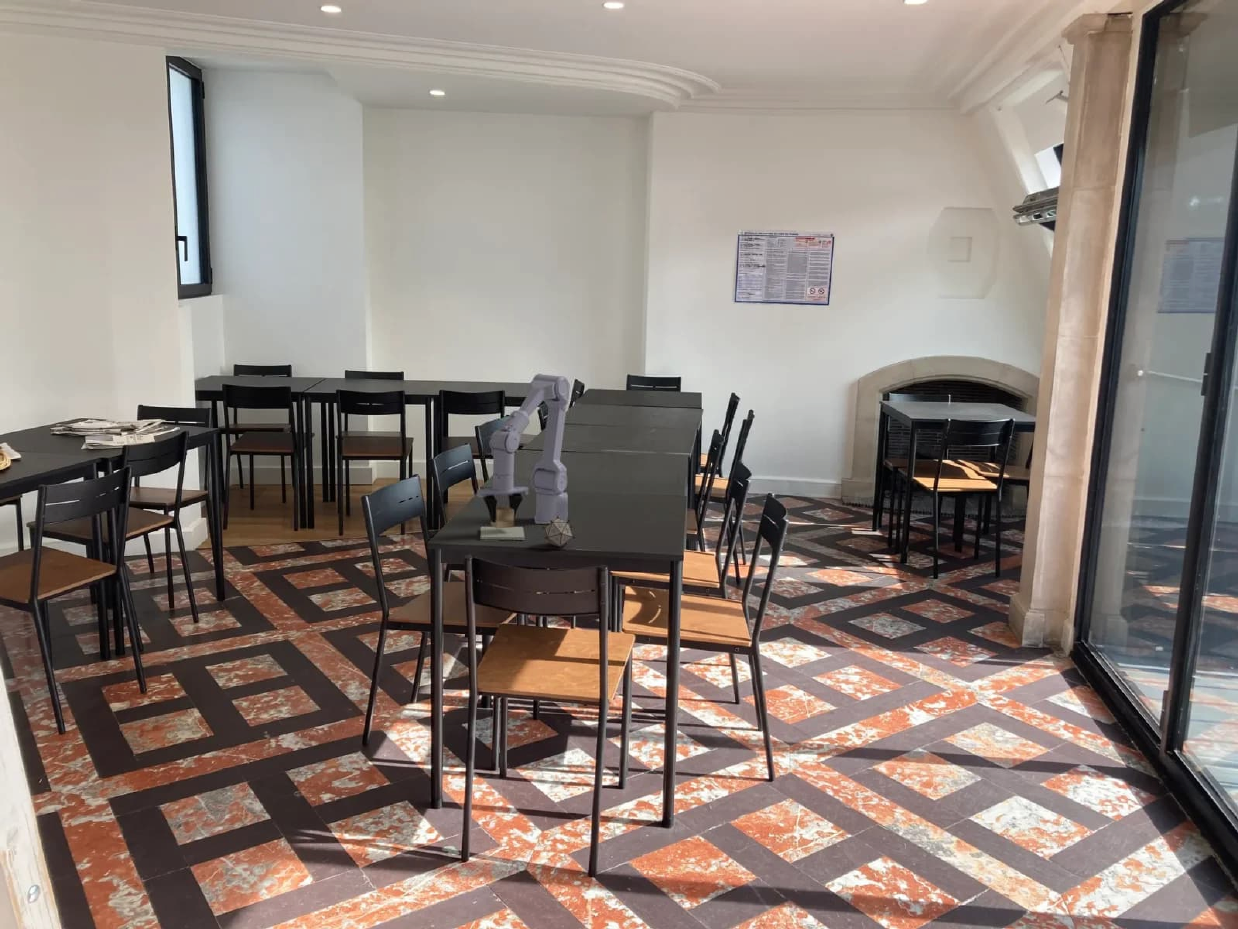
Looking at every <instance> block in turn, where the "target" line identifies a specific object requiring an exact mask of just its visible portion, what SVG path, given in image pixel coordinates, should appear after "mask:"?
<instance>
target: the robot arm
mask: <svg viewBox="0 0 1238 929" xmlns="http://www.w3.org/2000/svg"><path fill="white" fill-rule="evenodd" d="M529 386H530V387H529V388H530V389H529V392H528V394H527V395H526V397H525V399H524V401H523V402H522V404H521V406H520V407H519V409H518V410H513V411H512V412H511V413H510V415H509V416H508V418H507V419H506V420H505V422H504V423H503V424H502V426H501V427H500V428H499V429H497V430H495V431H494V432H493V433H492V434H491V435H490V438H489V440H488V444H489V445H488V446H489V448H490V449H491V450H490V451H491V456H492V457H493V461H492V465H493V466H492V468H493V469H492V487H489V488H483V489H477V490H476V491H477V492H476V494H477V495H476V497H477V498H479V499H482V498H483V500H484V503H485V505H486V507H487V509H488V514H489V518H490V522H491V521H492V522H495V521H496V507H497V504H498V500H497V499H496V497H503V496H505V497H506V496H507V497H508V504H509V507H510V508H512V509H513V510H514V520H515V518H516V515H517V511H518V509H519V506H520V505H521V503H522V501H523V499H524V498H523V496H522V495H525V496H527V495H529V487H527V486H514V485H515V484H514V482H515V480H514V476H515V475H514V473H515V471H514V470H515V453H516V451H517V450H518V449H519V447H520V441H521V437H522V435H523V433H524V432H525V430H526V428H527V427H528V426H529V425H530V417H531V415H532V414H533V413H534V411H536V409H537V408H538V407H539V406H540V404H541V403H543V402H544V403H545V404H546V406H547V408H548V410H547V417H546V425H545V434H544V440H543V442H544V443H543V450H542V456H541V457H542V458H541V459H540V460H539V461H538V462H535V464H534V468H533V471H532V474H531V477H530V481H531V486H532V487H533V489H534V492H536V508H535V510H536V512H535V514H536V515H534V518H533V519H534V524H538V525H539V524H542V525H545V524H546V525H549V524H550V523H551V522H550V521H551V520H552V521H554V520H556V519H557V516H558V519H561V520H564V521H568V518H569V517H568V516H569V511H568V510H569V509H568V508H569V506H568V505H569V504H568V502H569V499H568V498H569V496H568V492H564V491H565V490H566V488H567V486H568V476H567V470H568V469H567V467H566V466H565V465H564V463H562V462H561V453H562V447H563V446H562V445H563V440H564V439H563V438H564V432H565V422H566V415H567V414H566V413H567V405H568V404H569V400H570V392H571V383H570V382H569V380H568V378H567V377H566V376H565V375H561V376H558V375H550V374H543V373H536V374H535V375H534V377H533V378H532V380H531V381H530V385H529Z"/></svg>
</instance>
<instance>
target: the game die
mask: <svg viewBox="0 0 1238 929" xmlns="http://www.w3.org/2000/svg"><path fill="white" fill-rule="evenodd" d="M550 522H551V523H550V524H547V526H542V530H543V529H544V531H545V537H544V539H545V540H546V539H547V540H548V543H547V546H551V545H554V546H556V547H558V548H559V550H562V546H564V545H566V544H567V545H568V542H569V541H570V540H571V539H576V536H574V535H573V532H572V529H573V526H572V525H570V522H571V520H570V519H567V521H564V520H561V519H558V516H557V519H556V520H554V521H552V520H551V521H550Z"/></svg>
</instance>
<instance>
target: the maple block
mask: <svg viewBox="0 0 1238 929" xmlns="http://www.w3.org/2000/svg"><path fill="white" fill-rule="evenodd" d="M490 525H491V527H495V528H497V529H498V528H510V527H515V526H514V525H515V519H514V510H513V509H512V508H510V506H508V505H502V506H501V505H500V506H499V505H498V506H496V521H495V522H492V521H491V520H490Z"/></svg>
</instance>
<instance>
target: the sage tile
mask: <svg viewBox="0 0 1238 929" xmlns="http://www.w3.org/2000/svg"><path fill="white" fill-rule="evenodd" d="M481 539H514V540H515V539H517V540H520V539H521V540H524V541H525V532H524V527H523V526H514V527H510V528H498V529H497V528H495V527H494V526H481V527H480V540H481Z"/></svg>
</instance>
